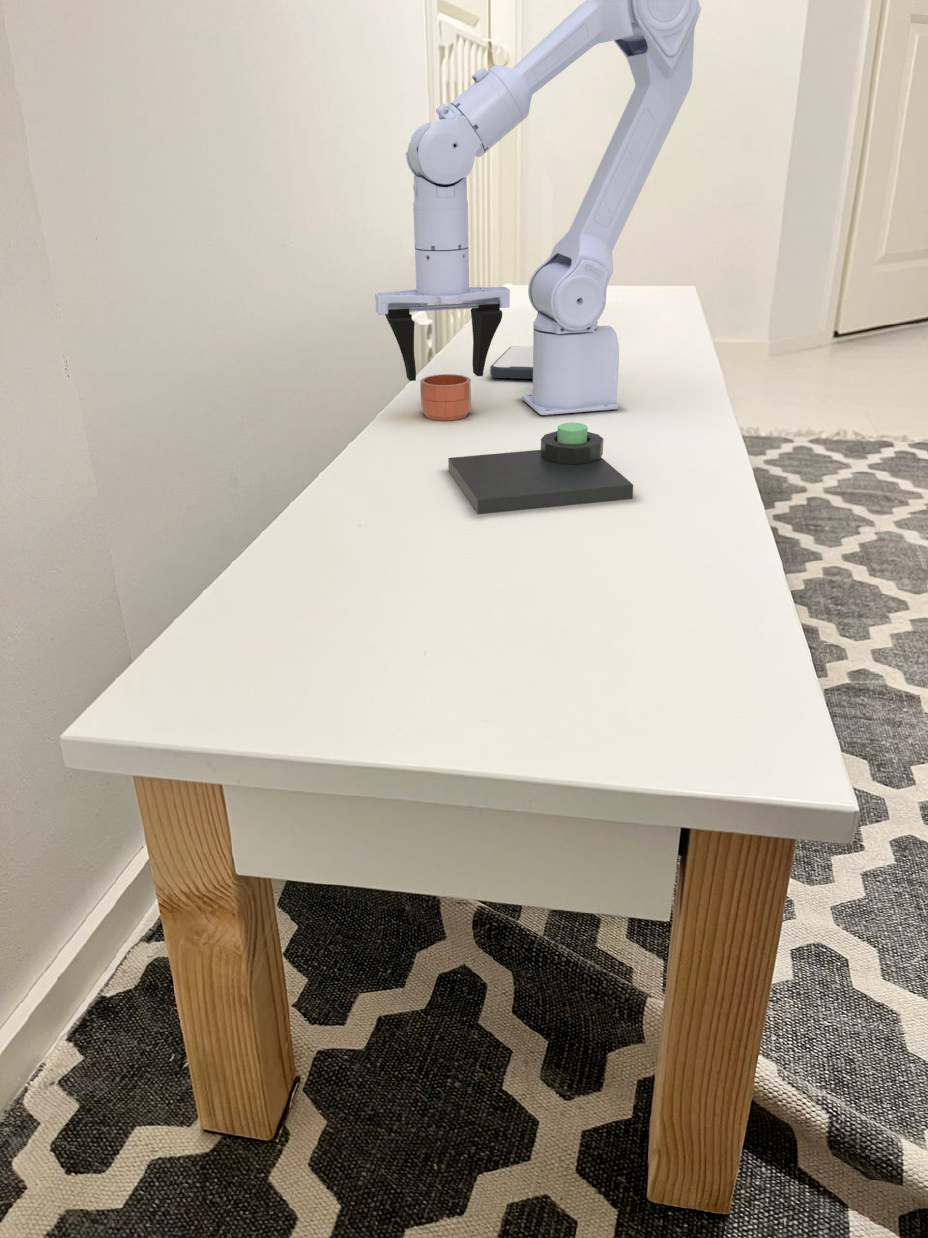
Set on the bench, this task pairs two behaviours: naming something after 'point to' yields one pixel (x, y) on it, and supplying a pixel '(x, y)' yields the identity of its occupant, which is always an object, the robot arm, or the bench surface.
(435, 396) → the bowl
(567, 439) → the button
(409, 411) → the bench surface
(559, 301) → the robot arm
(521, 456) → the scale
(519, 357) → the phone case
